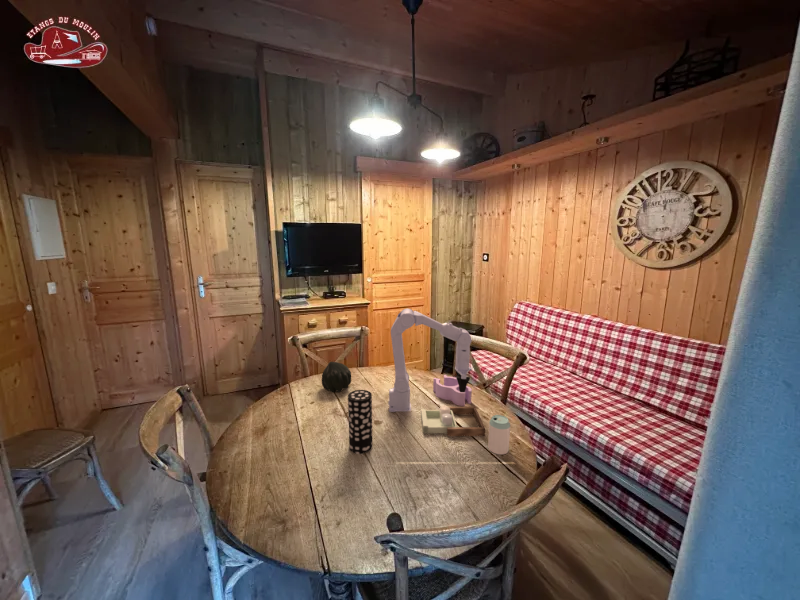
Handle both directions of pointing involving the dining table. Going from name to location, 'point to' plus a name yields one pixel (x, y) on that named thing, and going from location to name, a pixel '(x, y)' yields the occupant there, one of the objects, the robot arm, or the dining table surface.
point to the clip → (451, 391)
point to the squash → (336, 377)
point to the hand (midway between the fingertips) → (461, 387)
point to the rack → (467, 430)
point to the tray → (434, 421)
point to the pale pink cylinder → (444, 411)
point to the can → (499, 434)
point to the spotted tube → (360, 421)
